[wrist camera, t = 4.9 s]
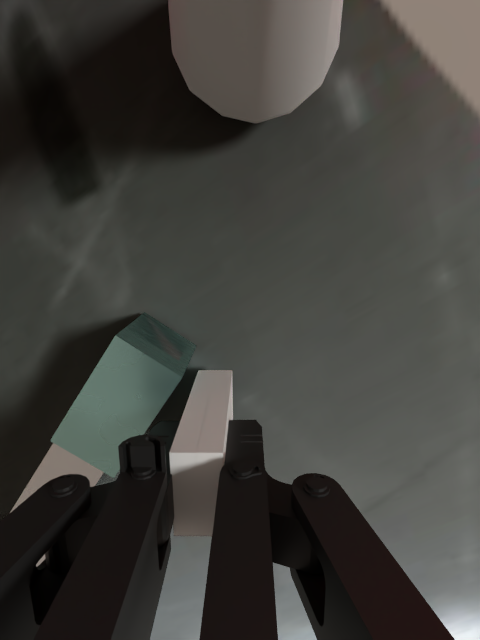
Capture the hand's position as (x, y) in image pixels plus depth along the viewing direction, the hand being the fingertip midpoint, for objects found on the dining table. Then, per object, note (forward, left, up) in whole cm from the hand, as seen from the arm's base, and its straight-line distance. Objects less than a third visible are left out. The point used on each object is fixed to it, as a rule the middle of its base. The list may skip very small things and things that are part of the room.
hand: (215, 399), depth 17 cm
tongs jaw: (-6, +9, -1) cm, 11 cm away
